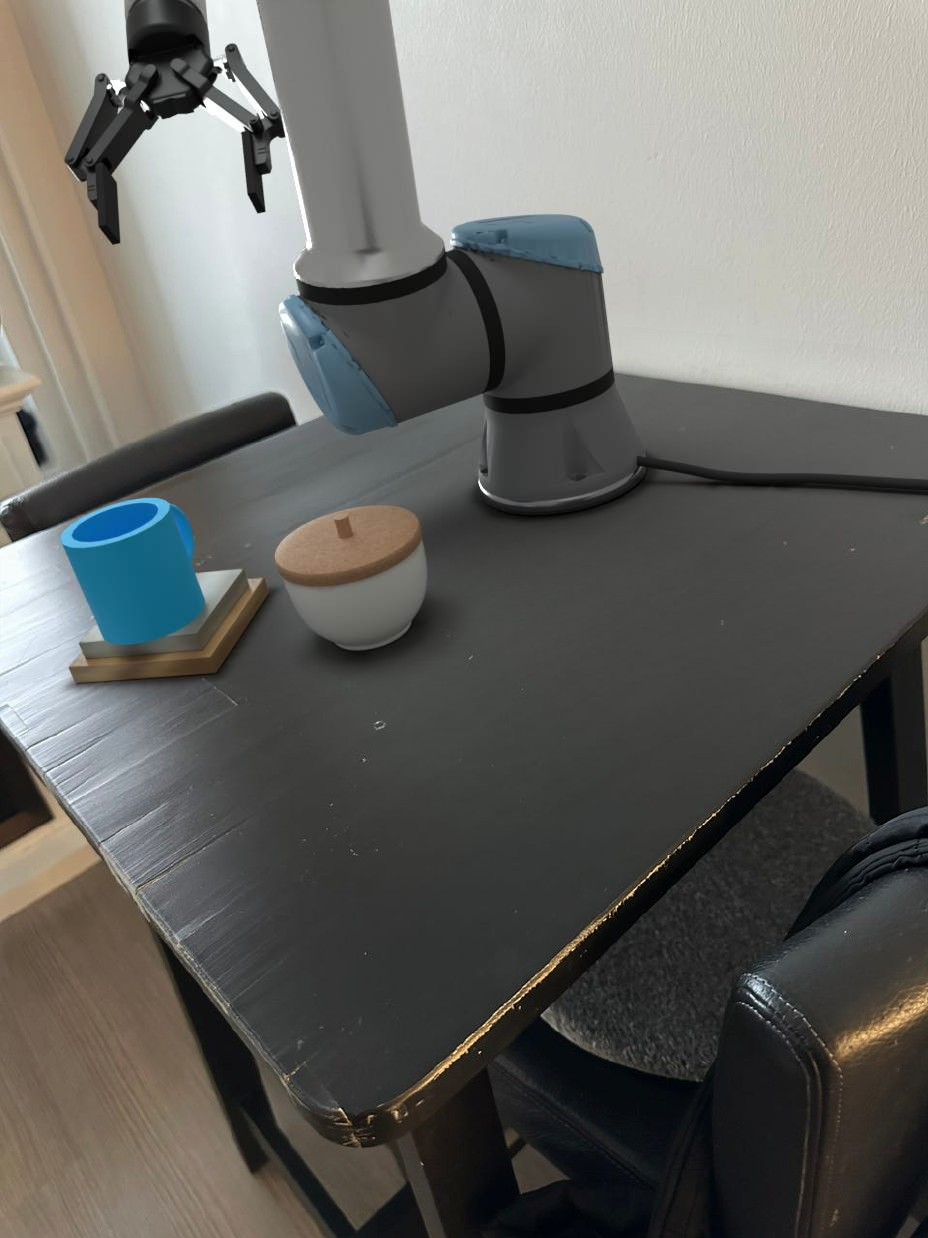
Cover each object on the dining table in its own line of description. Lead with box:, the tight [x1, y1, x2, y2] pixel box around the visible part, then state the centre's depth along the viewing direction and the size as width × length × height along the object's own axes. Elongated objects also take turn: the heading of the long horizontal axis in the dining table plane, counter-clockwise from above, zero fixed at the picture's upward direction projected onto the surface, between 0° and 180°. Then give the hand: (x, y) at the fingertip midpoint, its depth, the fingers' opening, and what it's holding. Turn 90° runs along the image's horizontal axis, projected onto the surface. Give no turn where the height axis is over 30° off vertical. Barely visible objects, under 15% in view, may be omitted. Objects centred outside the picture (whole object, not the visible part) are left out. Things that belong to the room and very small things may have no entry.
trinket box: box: [273, 504, 428, 651], centre depth 75 cm, size 11×11×9 cm
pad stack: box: [68, 568, 270, 684], centre depth 82 cm, size 12×12×3 cm
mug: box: [59, 497, 205, 645], centre depth 79 cm, size 12×8×8 cm
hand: (182, 219), depth 91 cm, fingers open, 13 cm apart
